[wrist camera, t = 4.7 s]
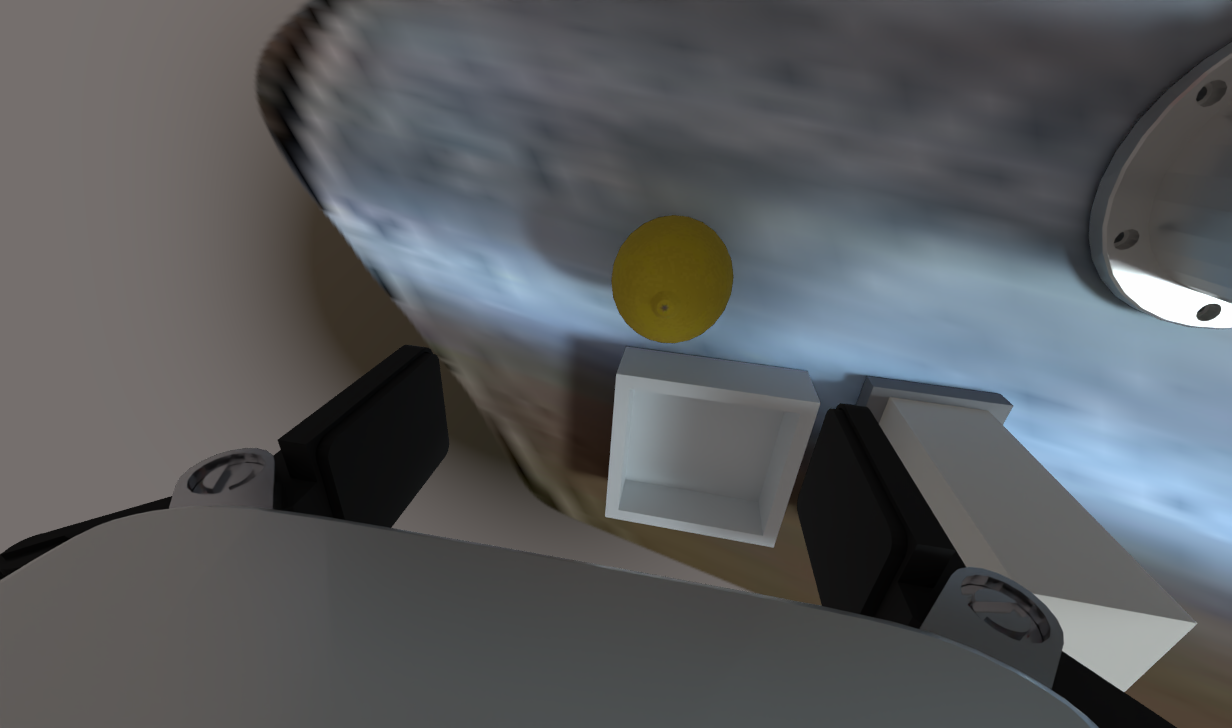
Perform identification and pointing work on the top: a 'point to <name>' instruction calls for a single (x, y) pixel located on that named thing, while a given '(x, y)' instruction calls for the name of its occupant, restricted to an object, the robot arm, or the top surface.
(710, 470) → the tray
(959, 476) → the block
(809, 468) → the robot arm
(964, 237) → the top surface
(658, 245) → the lemon
